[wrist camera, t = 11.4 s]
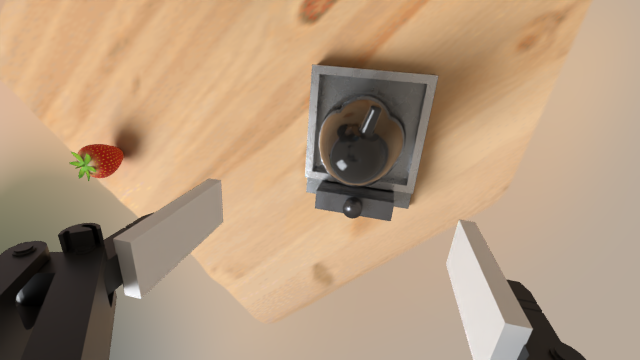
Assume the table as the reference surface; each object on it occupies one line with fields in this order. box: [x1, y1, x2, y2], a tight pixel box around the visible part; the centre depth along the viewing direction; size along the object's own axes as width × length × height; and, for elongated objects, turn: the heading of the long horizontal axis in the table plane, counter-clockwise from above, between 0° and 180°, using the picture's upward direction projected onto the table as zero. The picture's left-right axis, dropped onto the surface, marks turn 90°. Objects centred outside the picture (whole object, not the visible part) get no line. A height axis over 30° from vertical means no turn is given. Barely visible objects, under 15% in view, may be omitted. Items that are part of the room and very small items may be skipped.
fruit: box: [70, 144, 123, 181], centre depth 48 cm, size 5×5×8 cm
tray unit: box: [305, 65, 438, 221], centre depth 38 cm, size 18×15×7 cm
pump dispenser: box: [319, 93, 406, 187], centre depth 33 cm, size 10×10×15 cm
